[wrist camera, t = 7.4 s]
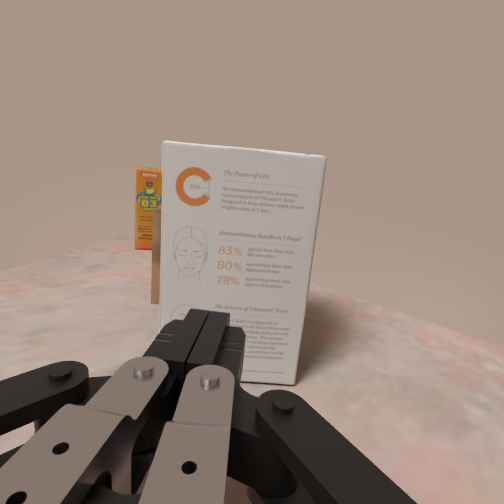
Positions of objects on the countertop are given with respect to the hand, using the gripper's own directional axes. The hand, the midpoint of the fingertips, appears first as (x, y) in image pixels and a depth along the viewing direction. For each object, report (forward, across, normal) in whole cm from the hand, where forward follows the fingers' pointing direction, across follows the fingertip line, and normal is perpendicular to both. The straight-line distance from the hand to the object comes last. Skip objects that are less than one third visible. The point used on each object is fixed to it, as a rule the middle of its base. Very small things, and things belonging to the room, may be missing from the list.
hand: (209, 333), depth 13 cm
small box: (+8, 0, +6) cm, 11 cm away
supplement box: (+31, +14, +6) cm, 35 cm away
